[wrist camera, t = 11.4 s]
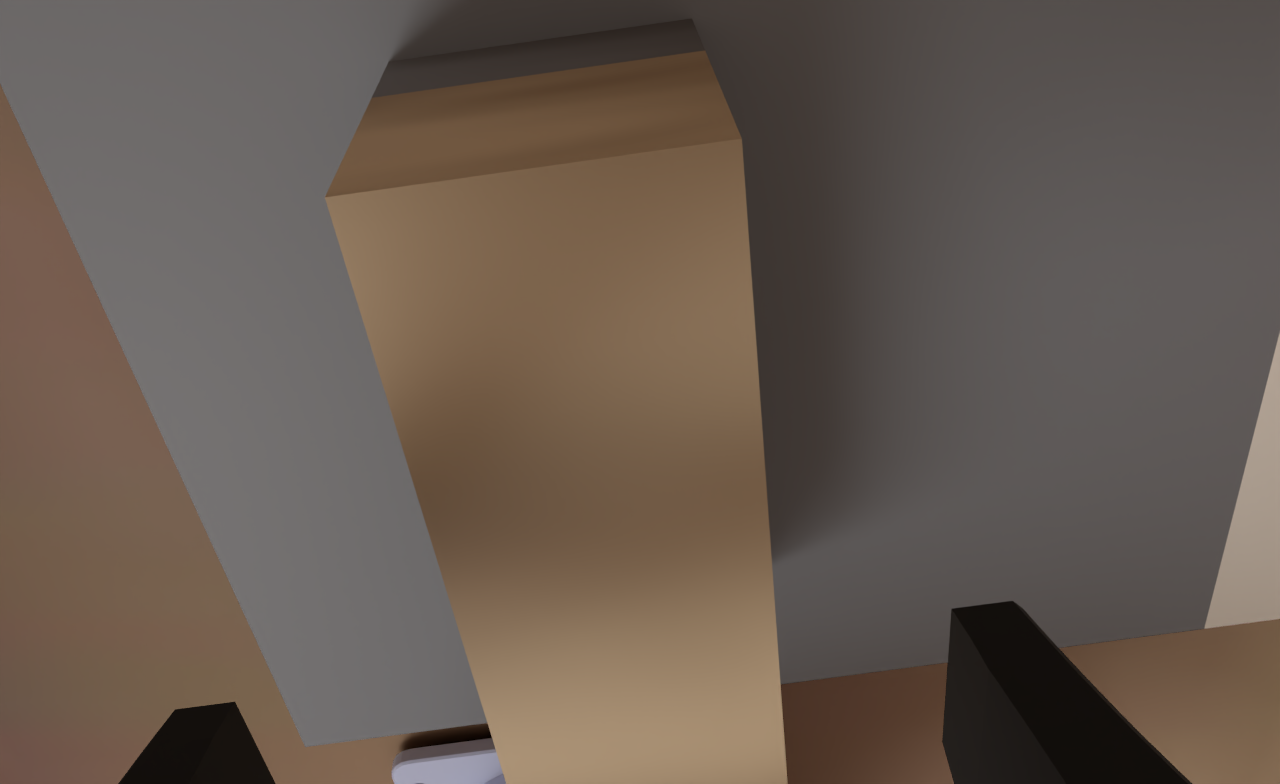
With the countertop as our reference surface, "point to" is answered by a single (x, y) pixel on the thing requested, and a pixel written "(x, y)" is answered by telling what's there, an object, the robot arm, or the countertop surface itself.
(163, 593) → the countertop surface
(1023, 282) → the board
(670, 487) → the block
